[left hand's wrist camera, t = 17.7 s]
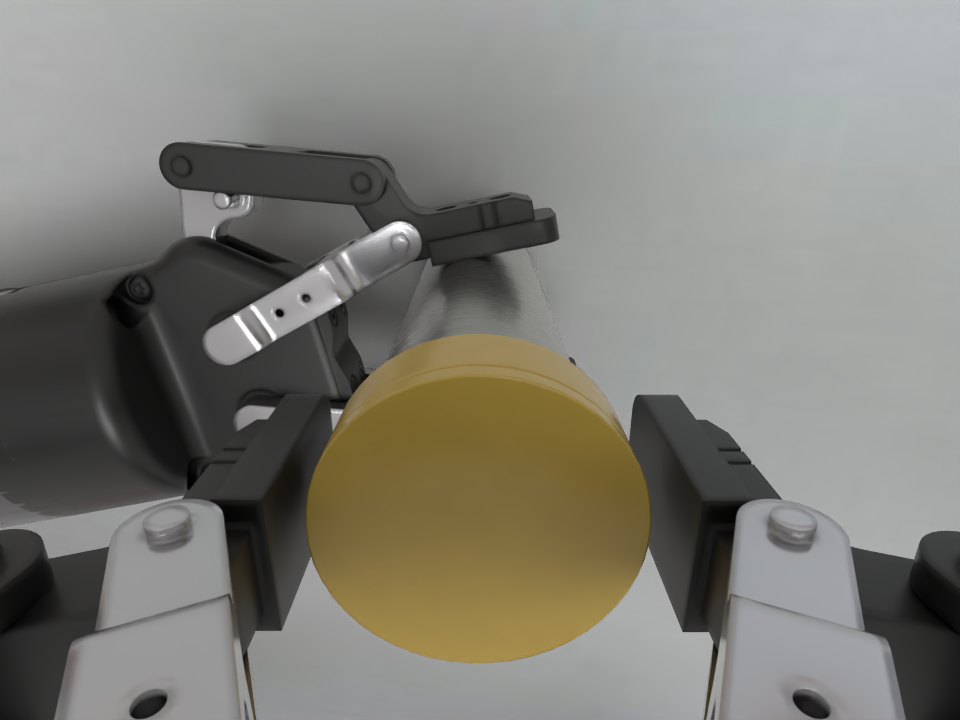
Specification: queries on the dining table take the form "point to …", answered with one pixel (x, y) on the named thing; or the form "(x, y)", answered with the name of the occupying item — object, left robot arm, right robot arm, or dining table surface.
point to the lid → (478, 502)
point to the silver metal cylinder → (480, 303)
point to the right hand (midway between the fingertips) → (564, 302)
